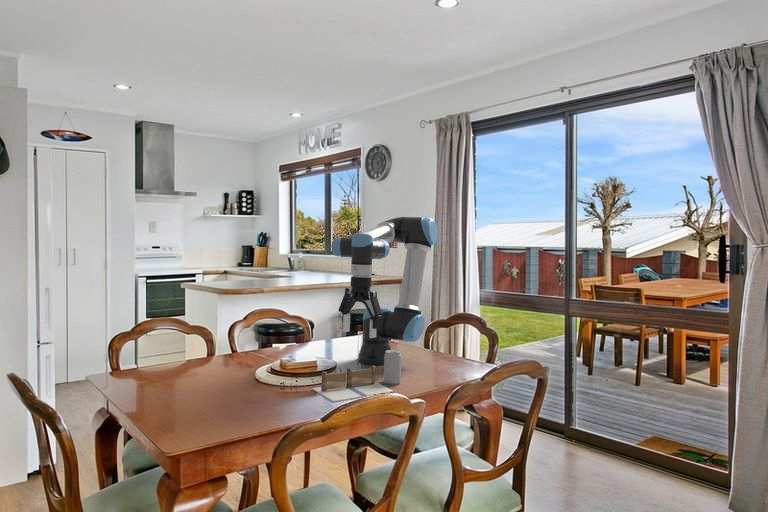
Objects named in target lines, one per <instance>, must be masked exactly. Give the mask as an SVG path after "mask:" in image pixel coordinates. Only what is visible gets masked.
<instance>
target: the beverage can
mask: <svg viewBox="0 0 768 512" xmlns="http://www.w3.org/2000/svg"><path fill="white" fill-rule="evenodd" d="M401 380H402V354H401V351H400V350H397V349H391V350H387V351H386V353H385V355H384V365H383V382H384V383H385V384H387V385H392V386H394V385H398V384H400V383H401Z"/></svg>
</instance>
